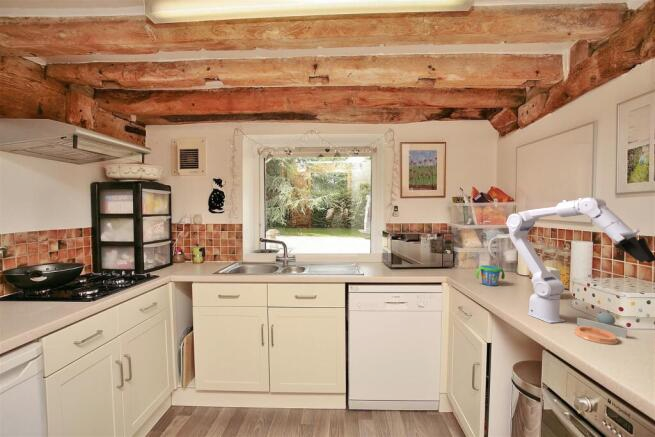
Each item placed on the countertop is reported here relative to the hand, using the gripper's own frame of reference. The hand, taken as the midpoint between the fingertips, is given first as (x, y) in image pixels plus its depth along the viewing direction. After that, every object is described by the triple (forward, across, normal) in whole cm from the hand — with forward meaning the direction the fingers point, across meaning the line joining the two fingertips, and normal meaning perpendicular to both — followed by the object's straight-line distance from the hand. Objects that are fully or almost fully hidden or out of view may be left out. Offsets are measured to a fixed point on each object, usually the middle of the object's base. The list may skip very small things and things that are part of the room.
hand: (649, 261), depth 89 cm
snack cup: (-27, +37, +68) cm, 82 cm away
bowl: (+14, +2, +27) cm, 30 cm away
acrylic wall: (+12, +10, +27) cm, 31 cm away
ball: (+9, +18, +26) cm, 32 cm away
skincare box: (-9, +39, +47) cm, 62 cm away
